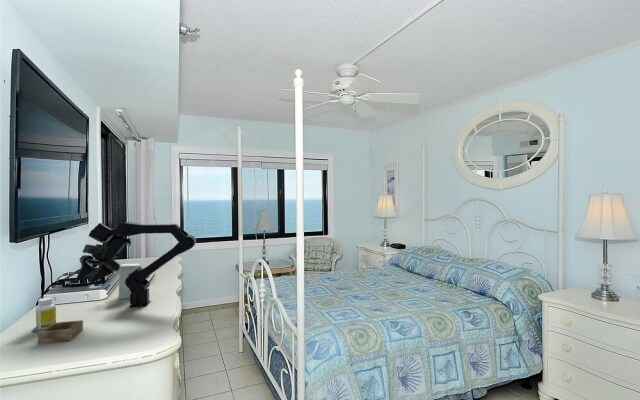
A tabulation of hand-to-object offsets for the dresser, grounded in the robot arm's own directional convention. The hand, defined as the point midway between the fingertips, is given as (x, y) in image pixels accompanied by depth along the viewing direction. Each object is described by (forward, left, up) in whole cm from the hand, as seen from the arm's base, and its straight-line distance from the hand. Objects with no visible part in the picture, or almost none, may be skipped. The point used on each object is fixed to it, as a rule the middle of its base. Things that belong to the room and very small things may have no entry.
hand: (83, 281), depth 128 cm
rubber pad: (+8, +9, -14) cm, 18 cm away
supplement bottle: (+8, +9, -13) cm, 18 cm away
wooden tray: (-1, +19, -14) cm, 24 cm away
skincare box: (-9, -24, -14) cm, 29 cm away
